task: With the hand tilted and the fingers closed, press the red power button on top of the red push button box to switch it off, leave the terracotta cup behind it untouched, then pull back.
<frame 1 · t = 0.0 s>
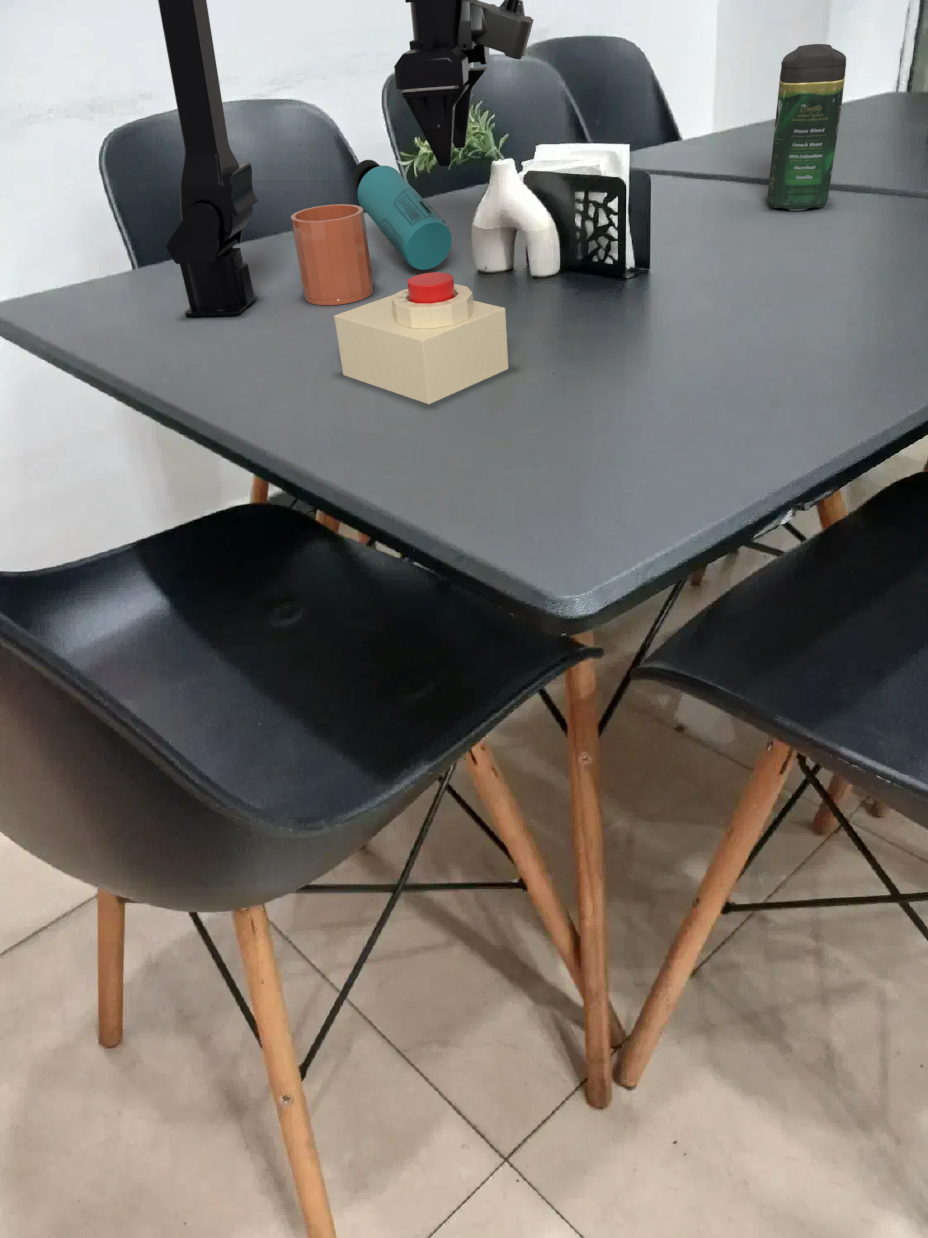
hand: (452, 156, 99), 15 cm above the table, tool pointing down, fingers open, 9 cm apart
power button: (431, 288, 85), point 8 cm above the table, slide at 0.1 cm
terracotta cup: (339, 294, 113), on the table
coffee jar: (797, 205, 131), on the table
beverage bottle: (435, 254, 113), point 3 cm above the table
red push button box: (425, 372, 90), on the table
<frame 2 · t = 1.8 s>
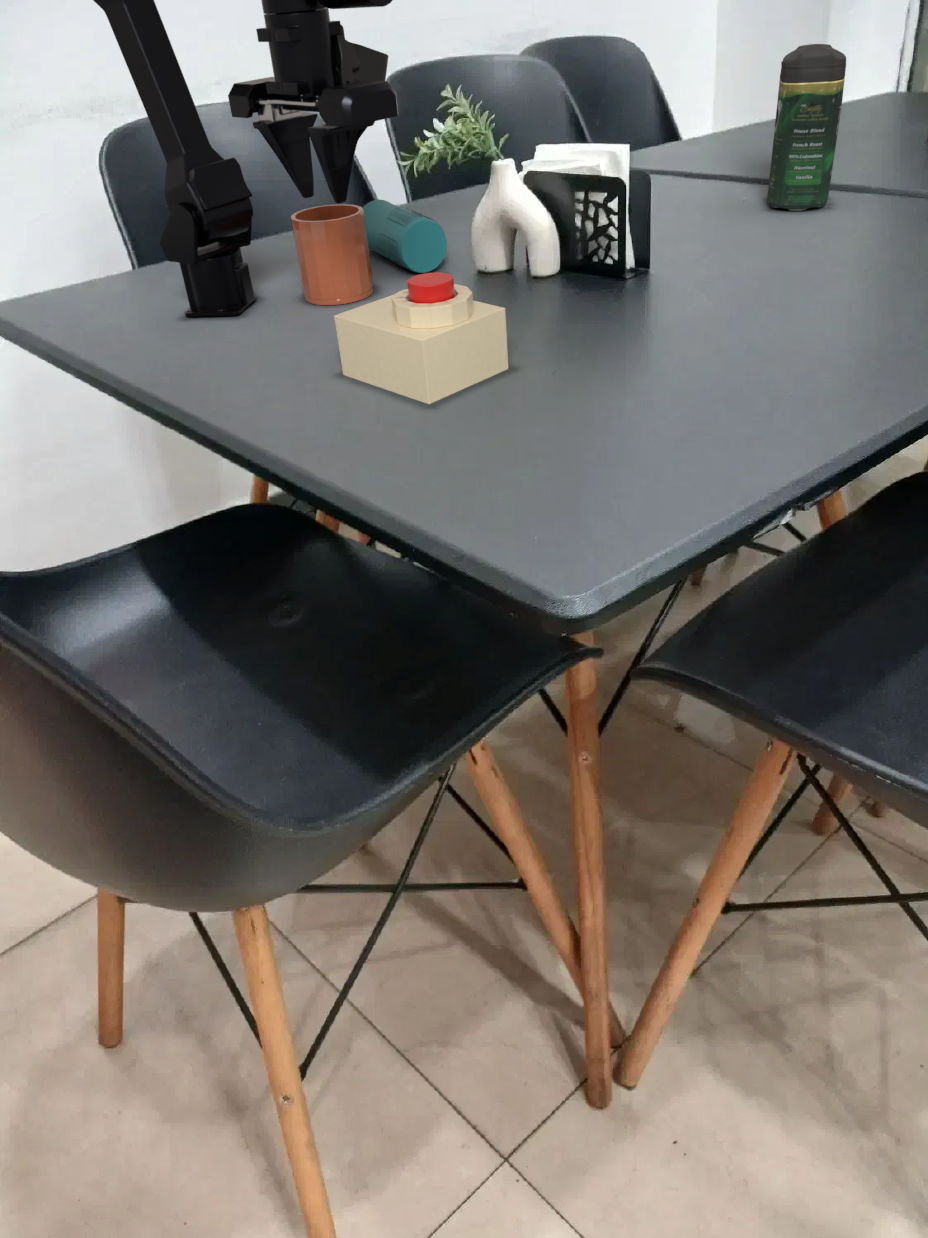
hand: (324, 199, 94), 13 cm above the table, tool pointing down, fingers open, 5 cm apart
beverage bottle: (430, 250, 114), point 3 cm above the table
everything else where it was.
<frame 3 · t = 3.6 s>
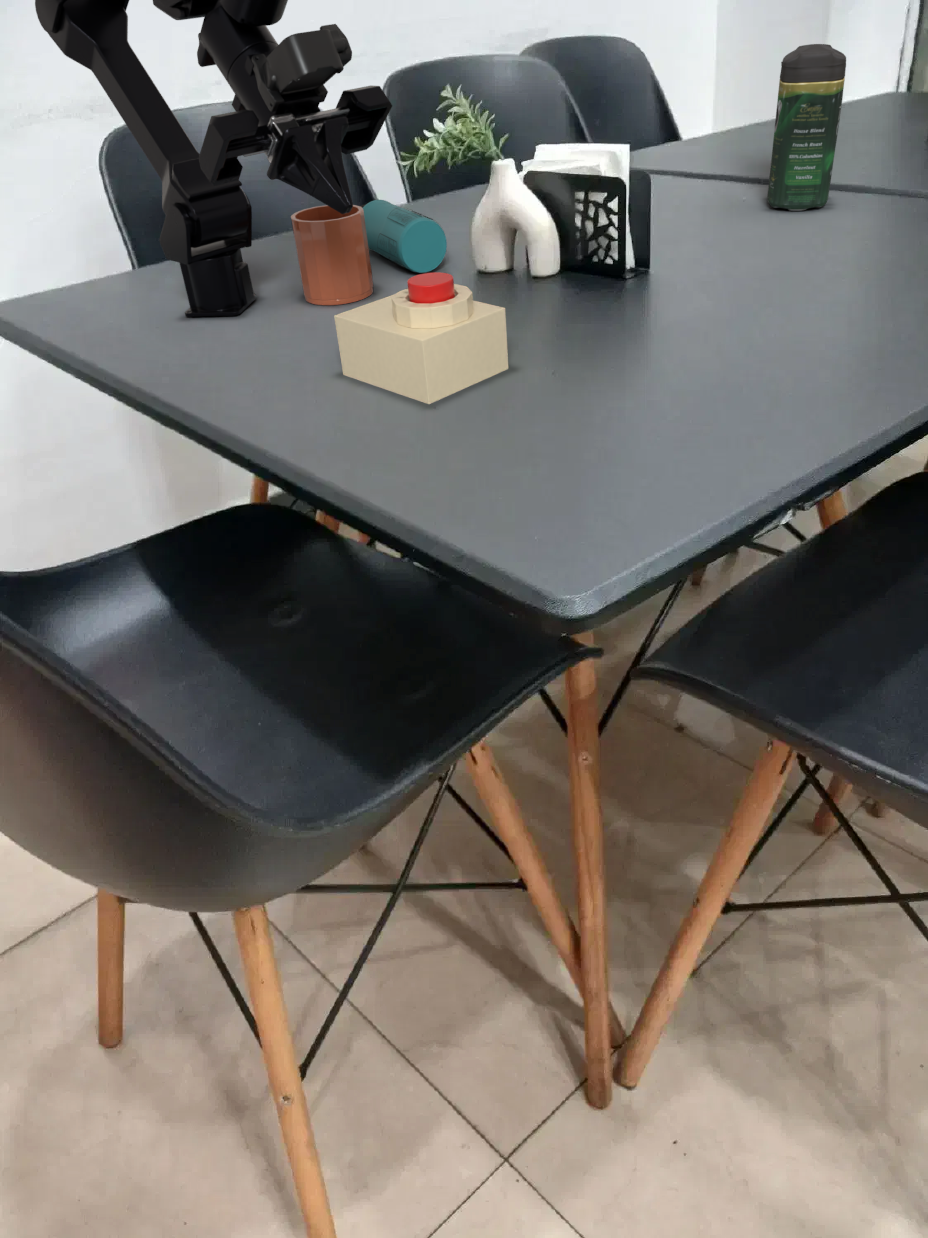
hand: (348, 209, 88), 13 cm above the table, tool tilted 45°, fingers closed
nothing on the table moved.
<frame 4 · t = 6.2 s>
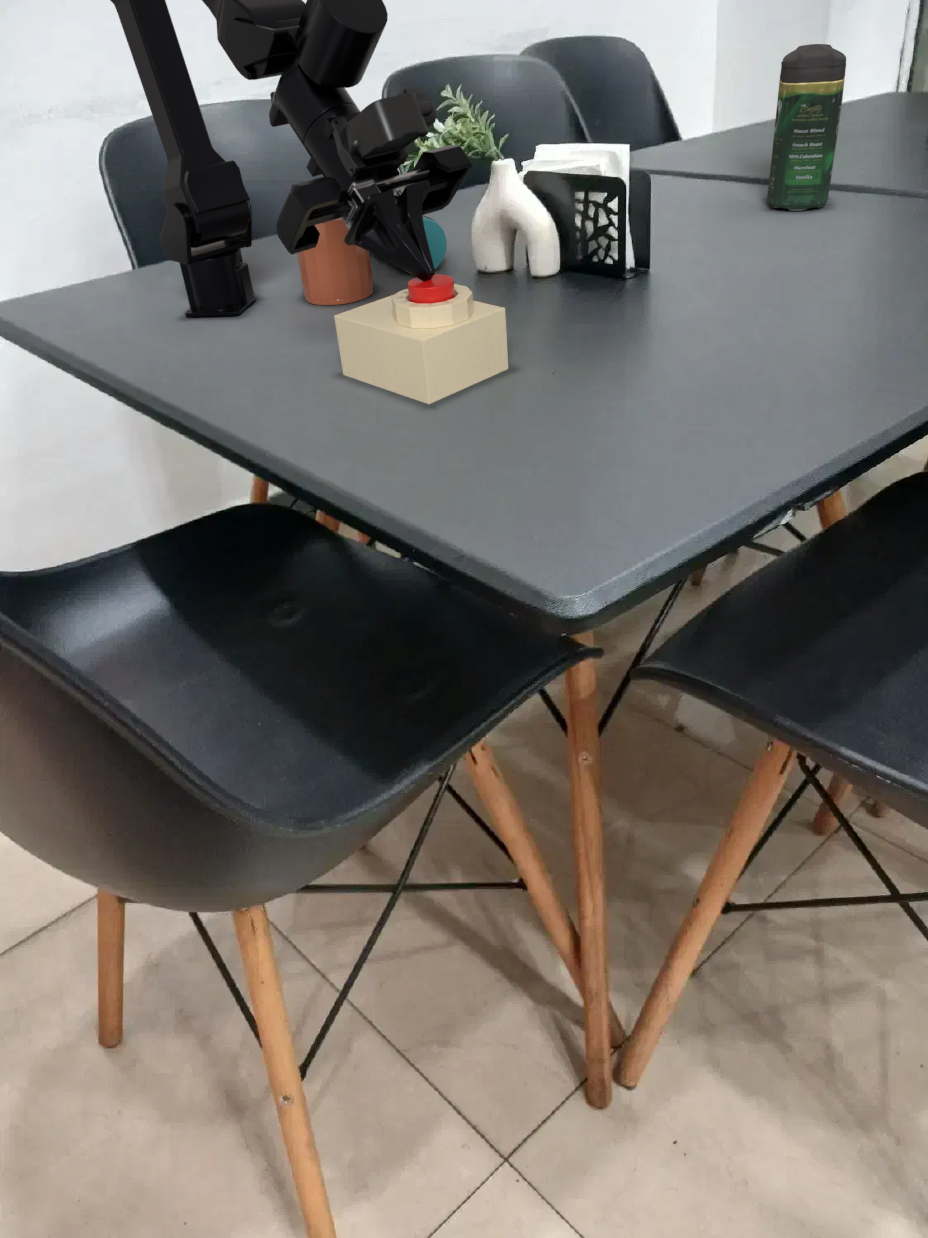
hand: (429, 277, 84), 9 cm above the table, tool tilted 45°, fingers closed, pressing on power button
power button: (431, 290, 85), point 8 cm above the table, slide at 0.0 cm, touching gripper
everything else where it was.
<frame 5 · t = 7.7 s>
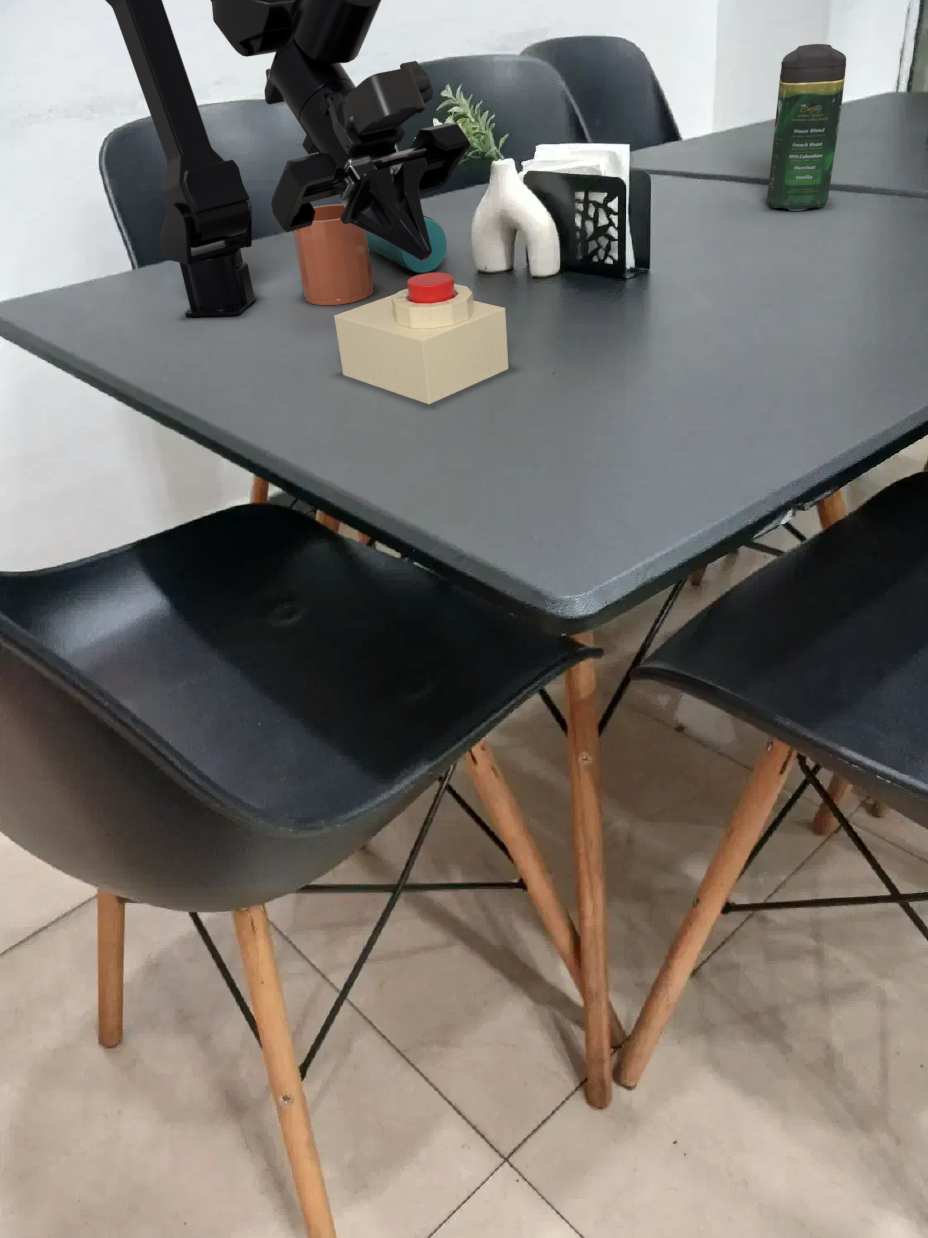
hand: (426, 256, 83), 11 cm above the table, tool tilted 45°, fingers closed
power button: (431, 289, 85), point 8 cm above the table, slide at 0.1 cm
everything else where it was.
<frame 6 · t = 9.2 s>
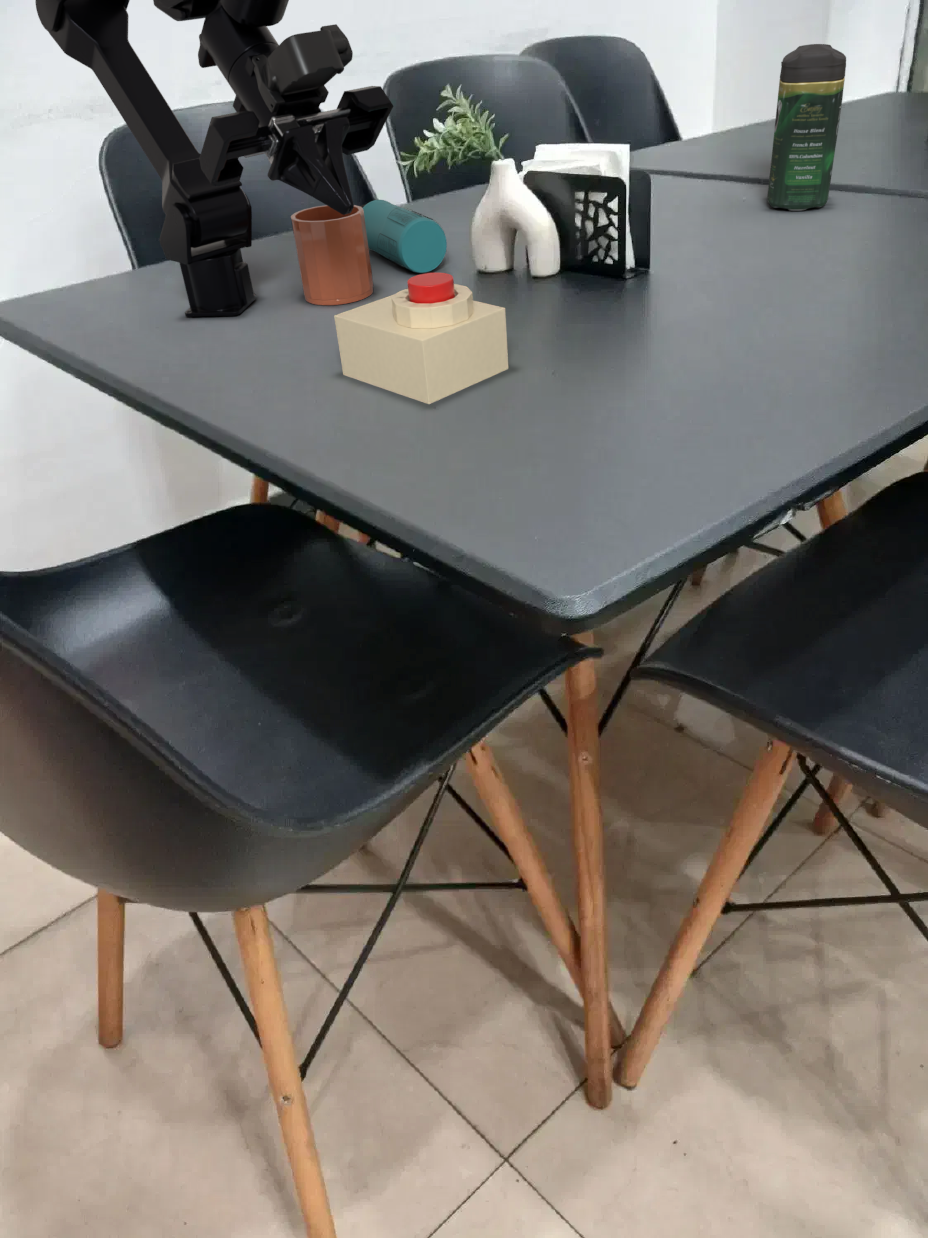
hand: (349, 210, 88), 13 cm above the table, tool tilted 45°, fingers closed
nothing on the table moved.
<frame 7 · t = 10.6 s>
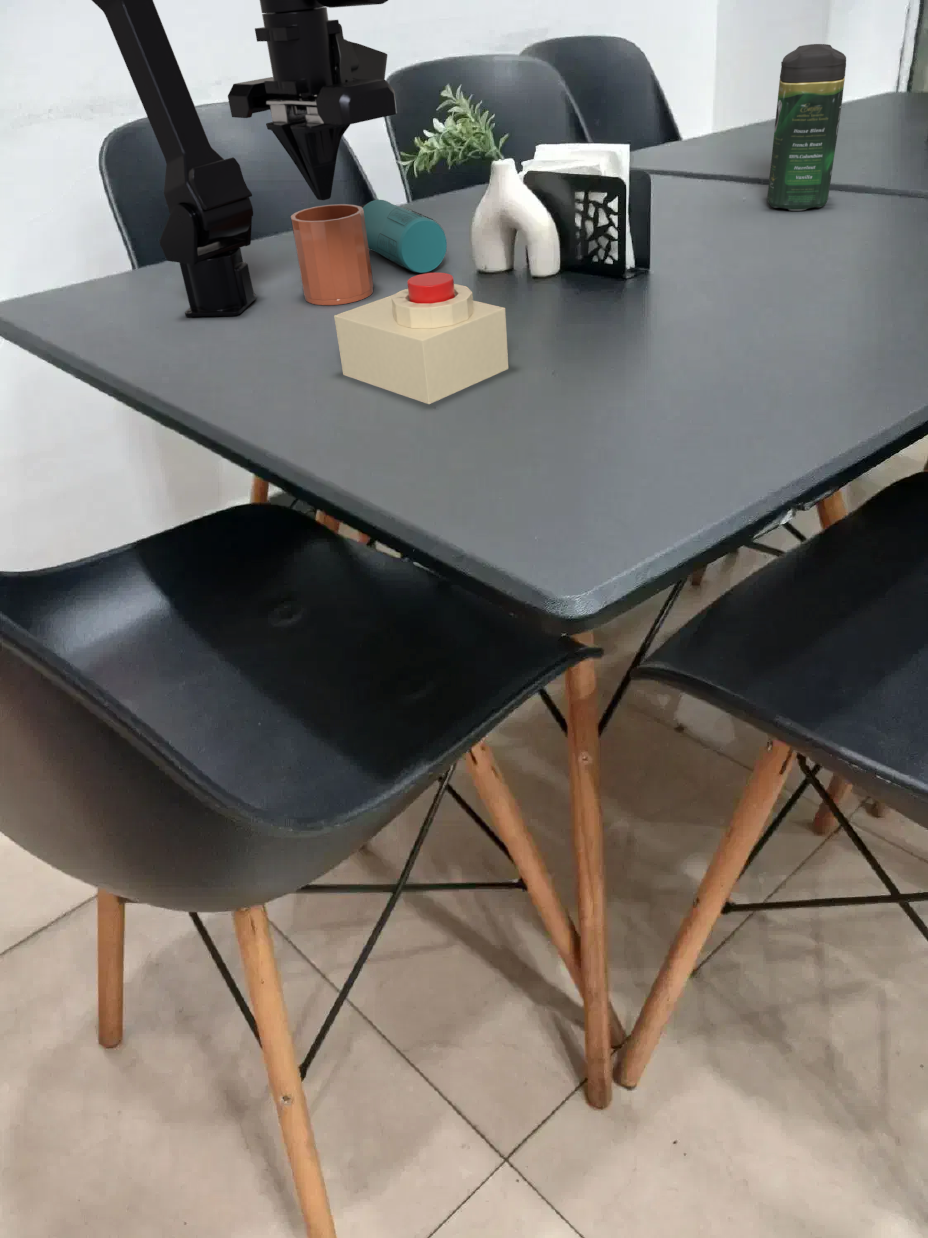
hand: (324, 199, 94), 13 cm above the table, tool pointing down, fingers closed
nothing on the table moved.
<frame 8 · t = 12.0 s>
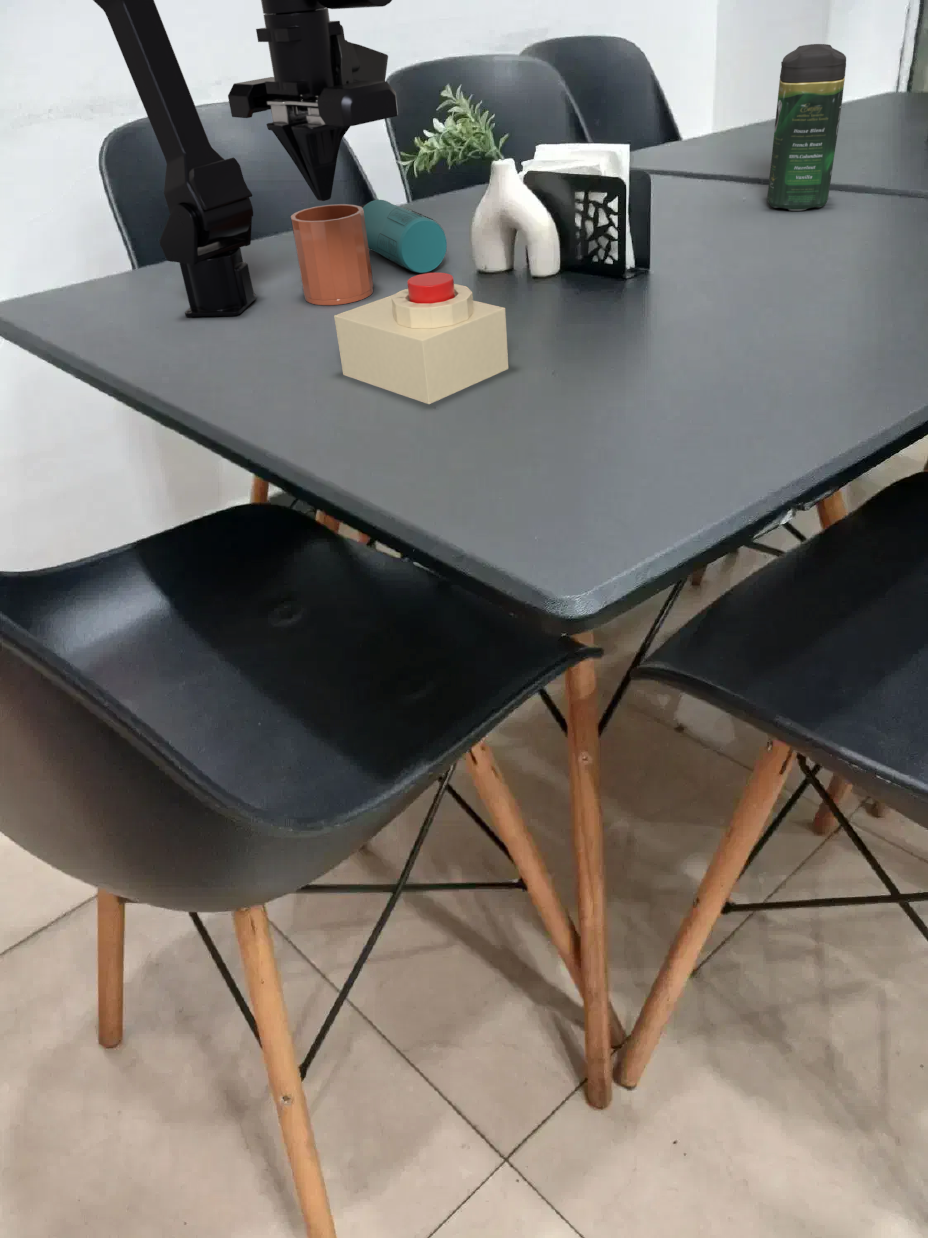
hand: (324, 199, 94), 13 cm above the table, tool pointing down, fingers closed
nothing on the table moved.
at the end: power button pushed in 1.2 cm at the most during the clip, back to where it started at the end; power button slide at 0.1 cm; terracotta cup moved 0.0 cm from its start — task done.
